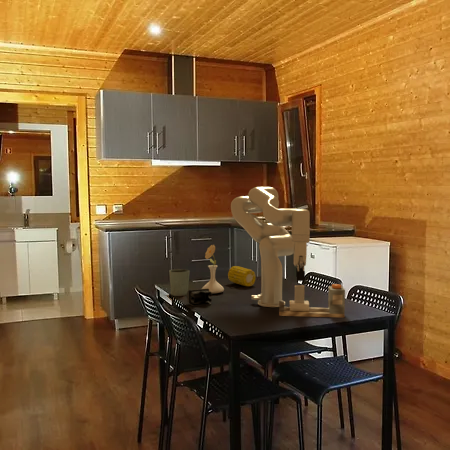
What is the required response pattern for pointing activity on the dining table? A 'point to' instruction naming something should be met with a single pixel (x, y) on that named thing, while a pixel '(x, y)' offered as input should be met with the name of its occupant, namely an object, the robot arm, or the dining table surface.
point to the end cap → (199, 297)
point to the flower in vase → (212, 273)
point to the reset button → (336, 286)
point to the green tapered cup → (179, 282)
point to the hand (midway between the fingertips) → (300, 278)
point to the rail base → (334, 308)
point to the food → (241, 276)
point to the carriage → (299, 300)
